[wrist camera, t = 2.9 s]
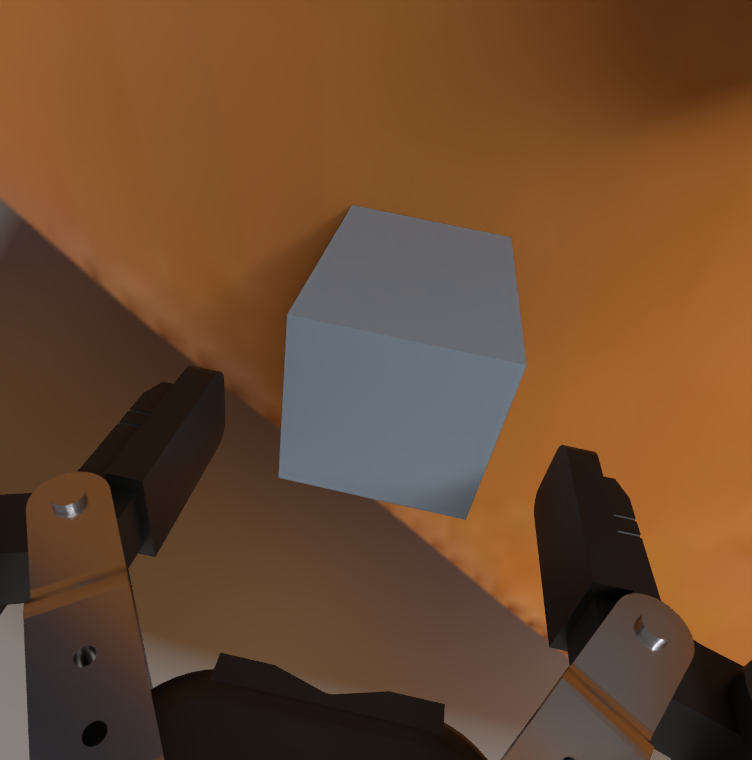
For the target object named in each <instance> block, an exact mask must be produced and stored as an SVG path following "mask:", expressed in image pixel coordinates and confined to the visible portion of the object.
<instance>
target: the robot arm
mask: <svg viewBox="0 0 752 760" xmlns="http://www.w3.org/2000/svg"><path fill="white" fill-rule="evenodd" d="M224 427H225V400H224V377H223V374H222V372H219V371H214V370H210V369H205V368H200V367H195V366H188V367H187V368H186V369H185V370H184V372H183V373H182V374H181V375H180V377H179V378H178V379H177V381H176V382H175V383H174V384H171V383H166V382H162V383H160V384H158V385H156V386H155V387H153V388H151V389H150V390H148V391H146V392H144V393H143V394H142V395H141V396H140V398H139V399H138V400H137V401H136V402H135V404H134V405H133V406H132V407H131V409H130V412H129V411H128V412H127V413H126V414H125V416H124V417H123V418H122V419H121V420H120V424H117V425H116V426H115V427H114V429H113V430H112V431H111V432H110V433H109V435H108V436H107V437H106V438H105V439H104V441H103V442H102V443H101V444H100V445H99V447H98V448H97V449H96V450H95V451H94V453H93V454H92V455H91V456H90V457H89V459H88V460H87V461H86V462H85V463H84V465H83V466H82V467H81V468H80V469H79V470H78V471H77V472H71V473H66V474H62V475H59V476H57V477H54V478H52V479H50V480H48V481H46V482H45V483H43V484H42V485H40V486H39V487H38V488H37V489H36V490H35V491H34V492H33V493H25V494H5V495H0V614H1V613H2V611H3V610H4V609H5V607H6V606H7V605H8V604H19V603H24V610H23V619H24V644H25V667H26V690H27V712H28V735H29V759H30V760H487V758H486V757H485V756H484V755H483V754H482V753H481V751H479V749H478V748H477V747H476V746H475V745H474V744H473V743H472V742H471V741H469V740H468V739H467V738H466V737H465V736H464V735H462V734H461V733H460V732H458V731H457V730H456V729H454V728H453V727H451V726H449V725H448V724H446V723H444V707H445V704H441V703H437V702H432V701H428V700H424V699H419V698H415V697H411V696H406V695H402V694H398V693H393V692H389V691H388V692H370V693H352V694H327V693H325V692H322V691H321V690H319V689H317V688H315V687H313V686H311V685H310V684H308V683H306V682H304V681H303V680H301V679H299V678H297V677H295V676H293V675H291V674H290V673H288V672H286V671H284V670H283V669H281V668H279V667H277V666H275V665H272V664H267V663H263V662H259V661H254V660H250V659H246V658H241V657H237V656H232V655H228V654H223V653H220V656H219V658H218V661H217V663H216V666H215V668H214V669H212V670H202V671H196V672H191V673H188V674H185V675H182V676H178V677H175V678H173V679H171V680H169V681H167V682H164V683H162V684H160V685H158V686H157V687H155V688H153V686H152V681H151V676H150V672H149V667H148V662H147V658H146V653H145V648H144V644H143V639H142V634H141V629H140V624H139V619H138V614H137V609H136V604H135V600H134V595H133V590H132V585H131V580H130V575H129V570H128V568H129V567H130V565H131V563H132V562H133V560H134V558H135V557H136V555H137V553H140V554H144V555H149V556H153V557H155V556H156V555H157V553H158V551H159V549H160V548H161V546H162V544H163V542H164V541H165V539H166V537H167V535H168V534H169V532H170V530H171V528H172V527H173V525H174V523H175V521H176V520H177V518H178V516H179V514H180V513H181V511H182V509H183V507H184V505H185V504H186V502H187V500H188V499H189V497H190V495H191V493H192V492H193V490H194V488H195V486H196V485H197V483H198V481H199V479H200V478H201V476H202V474H203V472H204V471H205V469H206V467H207V465H208V464H209V462H210V460H211V458H212V457H213V455H214V453H215V451H216V450H217V448H218V446H219V444H220V442H221V439H222V436H223V432H224ZM534 518H535V527H536V536H537V545H538V553H539V562H540V571H541V580H542V588H543V597H544V606H545V615H546V624H547V632H548V641H549V647H551V648H555V649H559V650H564V651H568V657H569V664H570V665H569V667H568V668H567V670H566V671H565V672H564V674H563V675H562V676H561V678H560V679H559V680H558V682H557V683H556V684H555V686H554V687H553V689H552V690H551V691H550V693H549V694H548V695H547V697H546V698H545V700H544V701H543V702H542V703H541V705H540V706H539V708H538V709H537V710H536V712H535V713H534V715H533V716H532V717H531V719H530V720H529V721H528V723H527V724H526V725H525V727H524V728H523V729H522V731H521V732H520V734H519V735H518V736H517V738H516V739H515V740H514V742H513V743H512V744H511V746H510V747H509V748H508V750H507V751H506V752H505V754H504V755H503V756H502V758H501V759H500V760H650V758H651V756H652V753H653V750H654V749H656V750H658V751H659V752H661V753H663V754H665V755H666V756H668V757H670V758H671V760H752V660H751V661H750V662H749V663H748V664H746V665H745V666H744V667H743V666H742V665H740V664H738V663H736V662H734V661H732V660H730V659H728V658H726V657H724V656H722V655H720V654H718V653H716V652H714V651H712V650H710V649H708V648H706V647H705V646H703V645H701V644H699V643H698V642H696V641H695V640H693V638H692V635H691V633H690V631H689V629H688V627H687V625H686V624H685V622H684V621H683V620H682V619H681V617H680V616H679V615H678V614H677V613H676V612H675V611H674V610H673V609H671V608H670V607H669V606H668V605H666V604H665V603H663V602H662V601H661V599H660V596H659V593H658V590H657V586H656V583H655V580H654V577H653V573H652V570H651V567H650V564H649V560H648V557H647V554H646V551H645V547H644V544H643V541H642V538H640V531H639V528H638V525H637V522H635V515H634V512H633V508H632V505H631V502H630V499H629V497H628V496H627V494H626V493H625V492H624V490H623V489H622V488H621V486H620V485H619V484H618V482H617V481H616V480H615V479H613V478H608V477H603V473H602V469H601V466H600V462H599V458H598V455H597V454H596V453H595V452H593V451H588V450H584V449H579V448H574V447H569V446H565V445H561V446H560V447H559V448H558V450H557V452H556V454H555V456H554V458H553V460H552V462H551V464H550V466H549V468H548V470H547V472H546V474H545V476H544V478H543V480H542V482H541V484H540V487H539V489H538V491H537V495H536V499H535V505H534Z"/></svg>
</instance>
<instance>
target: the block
mask: <svg viewBox="0 0 752 760" xmlns="http://www.w3.org/2000/svg"><path fill="white" fill-rule="evenodd" d="M525 368H526V357H525V349H524V341H523V332H522V324H521V315H520V307H519V299H518V290H517V282H516V274H515V265H514V257H513V248H512V240H511V237H507V236H502V235H497V234H492V233H487V232H483V231H478V230H473V229H468V228H463V227H458V226H453V225H448V224H443V223H438V222H433V221H428V220H424V219H419V218H414V217H409V216H404V215H399V214H394V213H389V212H384V211H379V210H374V209H369V208H364V207H360V206H355V205H352V206H351V208H350V209H349V211H348V213H347V215H346V216H345V218H344V220H343V221H342V223H341V225H340V226H339V228H338V230H337V231H336V233H335V235H334V236H333V238H332V240H331V242H330V243H329V245H328V247H327V248H326V250H325V252H324V253H323V255H322V257H321V258H320V260H319V262H318V263H317V265H316V267H315V268H314V270H313V272H312V274H311V275H310V277H309V279H308V280H307V282H306V284H305V285H304V287H303V289H302V290H301V292H300V294H299V295H298V297H297V299H296V301H295V302H294V304H293V306H292V307H291V309H290V311H289V312H288V314H287V327H286V346H285V365H284V384H283V403H282V422H281V442H280V460H279V478H282V479H287V480H291V481H296V482H300V483H305V484H309V485H313V486H318V487H322V488H327V489H331V490H336V491H341V492H345V493H349V494H353V495H358V496H363V497H367V498H371V499H376V500H380V501H385V502H389V503H394V504H398V505H403V506H407V507H411V508H416V509H420V510H425V511H429V512H434V513H438V514H443V515H447V516H452V517H456V518H461V519H465V520H466V517H467V515H468V512H469V510H470V507H471V505H472V502H473V500H474V497H475V495H476V492H477V490H478V487H479V484H480V482H481V479H482V477H483V474H484V472H485V469H486V467H487V464H488V462H489V459H490V457H491V454H492V451H493V449H494V446H495V444H496V441H497V439H498V436H499V434H500V431H501V429H502V426H503V424H504V421H505V418H506V416H507V413H508V411H509V408H510V406H511V403H512V401H513V398H514V396H515V393H516V391H517V388H518V385H519V383H520V380H521V378H522V375H523V373H524V370H525Z"/></svg>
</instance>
